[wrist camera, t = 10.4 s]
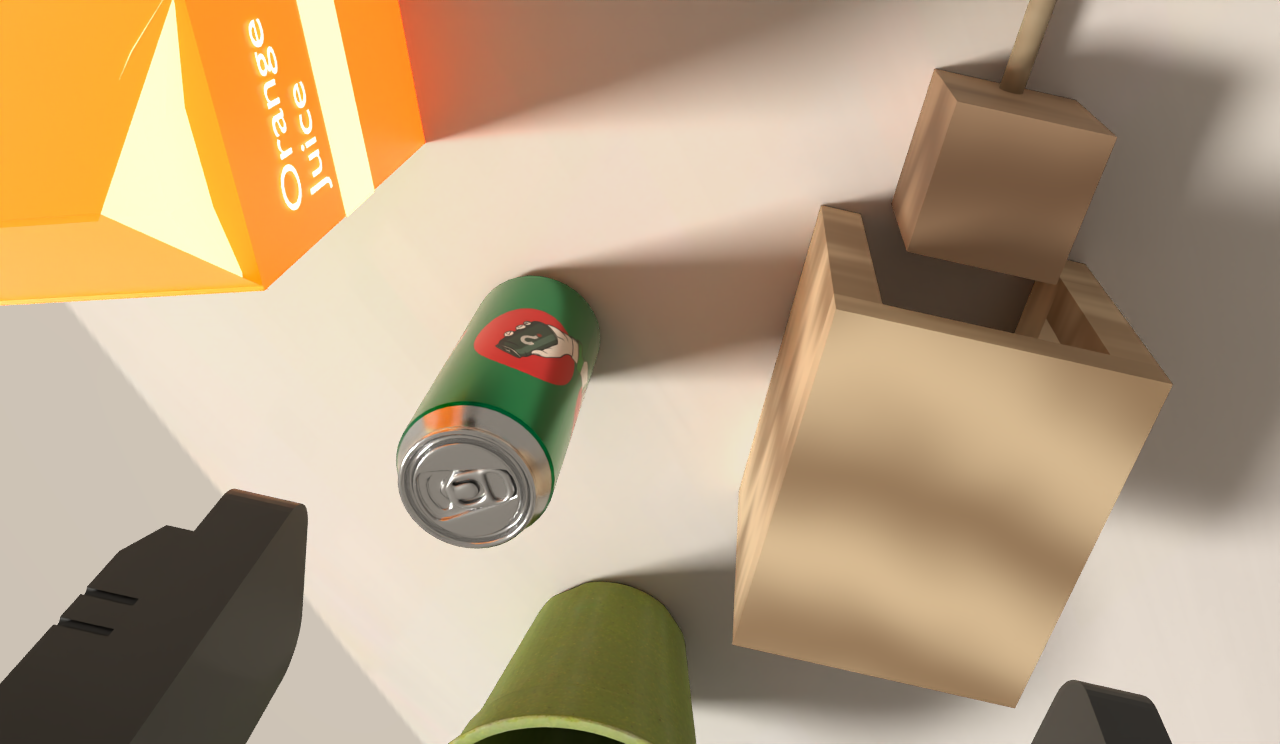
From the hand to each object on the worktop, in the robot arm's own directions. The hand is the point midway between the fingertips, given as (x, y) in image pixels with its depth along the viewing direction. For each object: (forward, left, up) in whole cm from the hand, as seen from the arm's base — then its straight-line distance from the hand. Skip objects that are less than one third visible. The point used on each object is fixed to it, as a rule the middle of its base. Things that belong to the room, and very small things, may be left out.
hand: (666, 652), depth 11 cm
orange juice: (+3, +16, -30) cm, 34 cm away
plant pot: (-25, +9, -30) cm, 40 cm away
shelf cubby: (-13, -5, -30) cm, 33 cm away
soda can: (-9, +9, -30) cm, 33 cm away
